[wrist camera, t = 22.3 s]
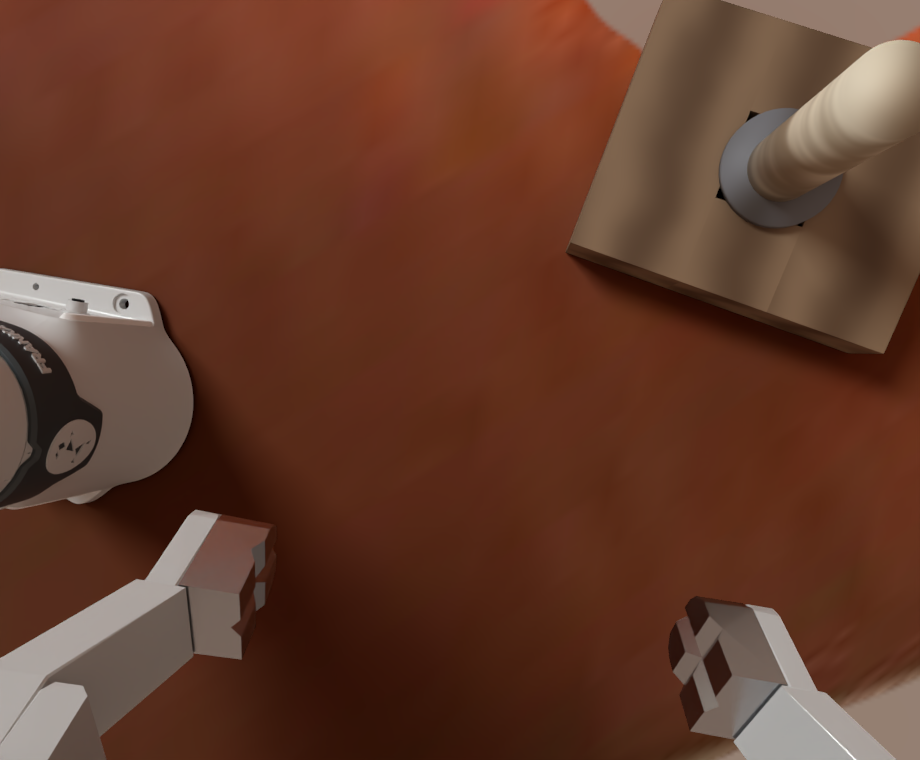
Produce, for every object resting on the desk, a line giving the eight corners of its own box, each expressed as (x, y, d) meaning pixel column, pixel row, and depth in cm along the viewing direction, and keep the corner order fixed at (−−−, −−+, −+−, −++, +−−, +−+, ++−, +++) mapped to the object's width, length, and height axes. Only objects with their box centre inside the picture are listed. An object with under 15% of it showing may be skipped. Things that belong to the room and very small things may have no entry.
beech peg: (687, 216, 40) (782, 143, 26) (728, 115, 40) (848, -19, 25) (788, 252, 40) (944, 196, 25) (832, 149, 39) (1016, 33, 25)
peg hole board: (565, 252, 42) (570, 242, 39) (654, 19, 41) (669, -16, 37) (847, 353, 41) (883, 353, 37) (952, 114, 39) (1001, 88, 35)
